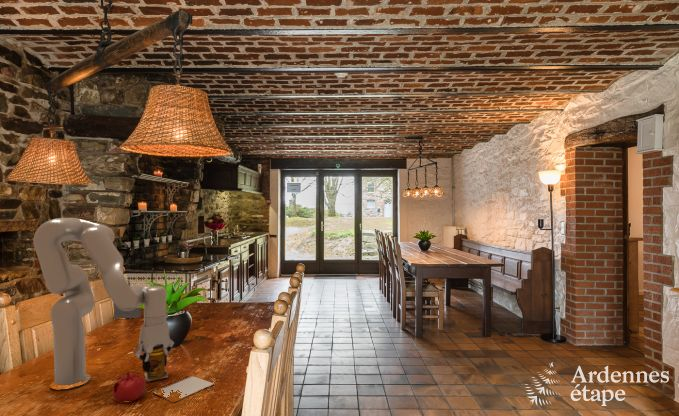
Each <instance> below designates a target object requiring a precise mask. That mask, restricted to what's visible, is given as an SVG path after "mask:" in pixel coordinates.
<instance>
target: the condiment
mask: <svg viewBox="0 0 679 416" xmlns="http://www.w3.org/2000/svg"><path fill="white" fill-rule="evenodd" d="M163 346H164V345H163V344H161V345H159V346H155V347H153V351H152V353H150V356H149V359H148V361H150V371H149V372H145V373H144V374H143V375H144V377H145V378H144V379H145V382H150V381H156V380H162V379H166V378H169V376H168V374H167V373H168V372H167V371H166V366H165V351H164V350H163V349H164V348H163Z"/></svg>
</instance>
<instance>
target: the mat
mask: <svg viewBox="0 0 679 416" xmlns="http://www.w3.org/2000/svg"><path fill="white" fill-rule="evenodd" d="M213 384H214V385H215V383H214V382H211V381H207V380H205V379H202V378H199V377H196V376H194V375H193V376H189V377H187V378H184V379H182V380H179V381H177V382H175V383H172V384H170V385H167V386H165V387H162V388H160V389H161V391H162V390H164V392H165V393H163V391H162V393H163V394H164V395H163V396H164V397H166V398H167V397H169V396H170V392H171V393H172V391H171V390H173V392H176V391H177V390H179V391H180V392H182V393H180V392H178V391H177V392H178V393H180V394H181V395H180V396H181V397H180V396H179V398H183V397H185V396H188V395H190V394H192V393H195V392H197V391H199V390H201V389H204V388H206V387H209V386H211V385H213ZM209 388H210V387H209ZM153 392H154V393H155V394H156V391H153ZM185 394H187V395H185ZM168 395H169V396H168Z"/></svg>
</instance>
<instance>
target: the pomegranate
mask: <svg viewBox="0 0 679 416" xmlns="http://www.w3.org/2000/svg"><path fill="white" fill-rule="evenodd" d="M122 375H123V376H124V377H118V378H116V382H115V384H114V385H113V387H112V396H113V398H114V400H115V401H116V402H118V401H119V402H118V403H120V402H124V401H133V402H135V401H137V400H138V399H139V397H140V398H141V397H142V396H143V394H144V393H145V390H146V379H145V378H143V377H141V376H140V375H141V373H139V372H131V371H130V370H128V371H126V374H125V373H123V374H122ZM136 399H137V400H136ZM134 400H135V401H134Z"/></svg>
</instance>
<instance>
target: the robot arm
mask: <svg viewBox="0 0 679 416" xmlns="http://www.w3.org/2000/svg"><path fill="white" fill-rule="evenodd" d="M115 237H116V235H115V232H114V231H113V229H112V228H111V227H109V226H107V225H103V224H100V223H96V222H93V221H92V222H91V221H88V220H85V219H81V218H78V217H77V218H76V217H58V218H53V219H50V220H47V221H45V222H44V223H42V224H40V226H39V227H37V229H36V230H35V233H34V235H33V248H34V251H35V253H36V255H37V258H38V261H39V265H40V269H41V273H42V275H43V279H44V282H45V286H46V288H47V290H48V291H49V292H50V293H51V294H54V295H61V294H62V295H63V294H64V297H61V298H60V299H58V300H57V301H55V303H54V304H53V305H52V306H51V309H50V320H51V326H52V330H53V331H52V332H53V333H52V334H53V360H54V361H53V362H54V363H53V366H54V367H53V369H54V380H55V384H57V385H71V384H75V383H78V382H80V381H81V382H82V383H83V382H85V381H87V380H89V379H90V377H91V374H88V373H86V371H87V367H86V365H87V364H86V334H85V333H86V332H85V331H86V330H85V326H84V325H85V324H84V321H83V318H84V317H85V316H87V315H88V314H89V313H91V312H92V311H93V309H94V307H95V296H94V293H93V290H92V287H91V284H90V280H89V277H88V275H87V272H86V271H85V270H84V268H83V267H82V266H79V265H77V264H71V263H70V261H69V258H68V257H69V256H68V253H67V252H66V250H65V248H64V247H63V246H62V244H63V242H68V241H74V242H80V243H81V245H82V246H83V248H84V249H85V250H86V252H87V254H88V255H89V256H90V258H91V259H92V262H93V263H94V264H95V265H96V267H97V268H98V270H99V272H100V276H101V280H102V283H103V286H104V289H105V291H106V293H107V295H108V297H109V298H110V300H112V302H113V305H114V304H115V305H116V306H117V307H118V308H119V309H121V310H123V311H130V310H133V309H135V308H136V307H138V306H140V305H141V306H142V305H143V324H142V325H141V327H140V332H139V336H138V337H139V338H138V347H137V349H136V350H135V351H134V352H133V355H134V356H136V357H137V358H138V359H139V360H141V361H142V365H141V366H142V367H141V368H142V371H143V372H145V373H147V372H149V371H150V361H148V359H149V356H150V353H152V351H153V347H155V346H159V345H161V344H163V345H164V346H163V348H164V349H163V350H164V351H165V367H167V361H168V359H167V357H168V355H169V352H170V351H171V349H172V347H174V344H175V342H174V341H173V340H172V339H171V337H170V328H169V324H168V321H167V318H169V313H168V314H167V290H166V288H165V287H164V286H163V285H162V286H161V285H155V286H154V285H153V286H145V285H132V286H131V285H130V286H129V285H128V283H129V282H128V281H127V280H126V277H125V276H124V272H123V271H124V261H125V260H124V258H123V256H122V254H121V253H120V251H119V250H118V249H117V247H116V246H115V244H114V241H115V239H116V238H115ZM141 352H142V353H141ZM87 377H89V378H87Z"/></svg>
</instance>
